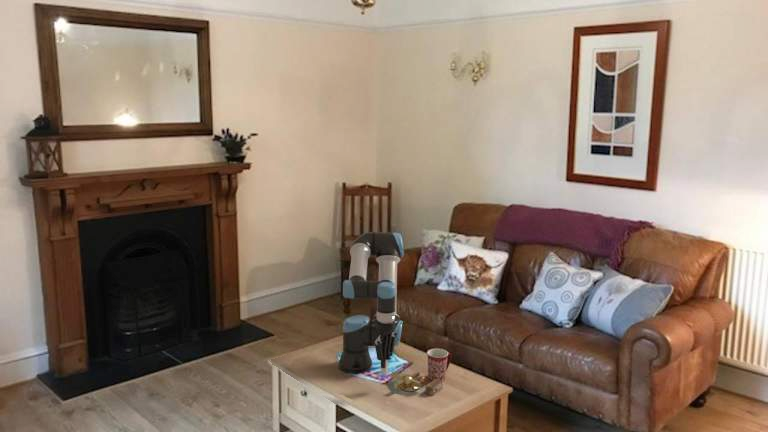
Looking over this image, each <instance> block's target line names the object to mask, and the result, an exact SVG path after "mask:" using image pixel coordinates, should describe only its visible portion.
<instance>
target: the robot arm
mask: <svg viewBox="0 0 768 432" xmlns="http://www.w3.org/2000/svg"><path fill="white" fill-rule="evenodd" d="M349 254H350V257H351V260H350V267H349V276H348V279H345V280H344V281H343V282H342V296H343V298H346V299H353V300H354V299H363V300H364V299H366V300H368V299H369V300H371V299H372V300H374V299H375V300H376V314H375V315H374V316H373V319H370V317H369V316H368V315H364V314H356V315H352V316H349V317H348V318H345V319H344V321H343V324H342V325H343V327H342V338H343V339H342V352H341V355H340V358H339V360H338V368H339V369H340V370H341V371H342V372H345V373H349V374H361V373H363V372H364V371H367V370H369V369H370V368H372V367H373V360H372V358H371V355H370V352H369V348H370V347H375V352H376V359H377V360H378V361H380V374H381V375H384V376H388V375H389V364H390V360H392V357H393V354H394V348H395V347H398V346H399V345H400V343H401V337H402V336H401V335H402V329H403V324H404V322H403V320H401V319H400V318H401V317H400V315H399V314H398V313H397V299H398V298H397V296H398V293H397V292H398V289H397V288H398V287H397V286H398V264H399V263H400V262H401V258H403V257H404V255H405V254H404V243H403V237H402V234H401V233H400V232H385V231H383V232H381V231H380V232H379V231H377V232H376V231H375V232H374V231H369V232H368V231H367V232H364V233H362V234H360V235H359V236H358V237H356V238H355V239H354V240H353V241H352V243H351V245H350V248H349ZM370 257H374V258H375V261H376V262H377V263H378V280H367V275H368V263H369V262H368V261H369V258H370Z"/></svg>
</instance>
